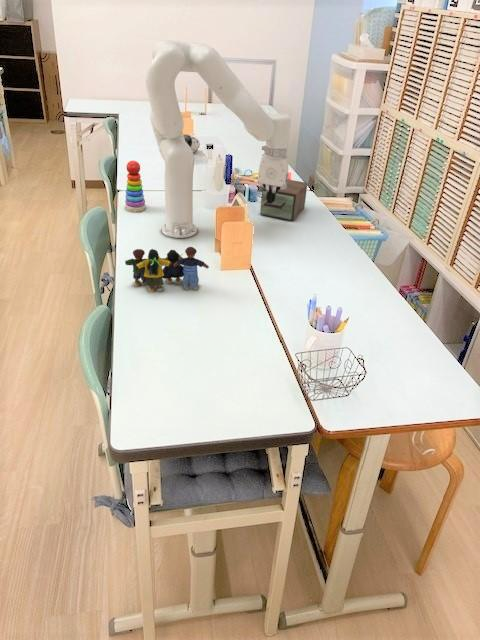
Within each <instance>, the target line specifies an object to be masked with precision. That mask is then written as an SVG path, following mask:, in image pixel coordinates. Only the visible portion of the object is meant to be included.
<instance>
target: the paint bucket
mask: <svg viewBox="0 0 480 640" xmlns="http://www.w3.org/2000/svg"><path fill="white" fill-rule="evenodd" d="M183 135H184V139H185V141H186V143H187V144H188V145H189V146H190V148H191V149H192V152H193V154H194V153H196V152H198V150H199V149H198V148H200V144H201V143H200V140H199V139H198V138H197V137H195V136H192V135H190V134H183Z"/></svg>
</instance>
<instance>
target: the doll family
mask: <svg viewBox="0 0 480 640" xmlns="http://www.w3.org/2000/svg"><path fill="white" fill-rule="evenodd" d="M184 253H185V254H186V256H187V257H183V255H184ZM184 253H181V254H179V252H177V251H176V250H175V249H170V250H169V251H168V252H167V253H166V257H160V254H159V253H158V250H157V249H153V248H151V249H150V250H148V255H147V258H144V256H145V254H146V252H145V250H144V249H141V248H136V249H135V250H133V251H132V255H133V257H134V258H129V259H127V260H125V261H124V263H125V265H126V266H132V274H133V275H132V278H133V279H134V284H133V286H134V287H140V285H141V286H147V289H148V291H149V292H155V290H156V291H157V292H162V291H163V290H164V288H163V286H164V284H165V282H166V283H167V284H170V285H171V284H174V283H175V284H176V285H180V284H181V283H183V285H182V288H183V289H184V290H190V287H191V288H192V290H197V289H198V288H199V287H200V285H199V281H200V278H199V275H198V274H199V273H198V272H199V271H198V267H200V268H202V267H203V268H204V269H206V270H207V269H210V266H209V265H208V264H207V263H205V262H204V261H203V260H201V259H199V258H196V257H195V256H196V254H197V249H196V248H195V247H193V246H188V247H187V248H185V250H184ZM173 278H174V279H175V280H173ZM140 279H141V281H140ZM164 279H165V282H164ZM173 281H174V283H173Z"/></svg>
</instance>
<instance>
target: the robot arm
mask: <svg viewBox="0 0 480 640" xmlns="http://www.w3.org/2000/svg"><path fill="white" fill-rule="evenodd" d="M151 56H152V60H151V62H150V63H149V66H148V69H147V73H146V76H145V77H146V78H145V86H146V92H147V96H148V100H149V103H150V108H151V110H150V111H151V112H150V122H151V123H150V124H151V126H152V130H153V133H154V137H155V140H156V143H157V147H158V151H159V153H160V155H161V157H162V159H163V161H164V201H165V202H164V203H165V207H164V208H165V224H163V225H162V227H161V232H162V234H163V235H165V236H166V237H169V238H175V239H185V238H190V237H193V236H195V235H196V234H197V232H198V227H197V226H196V225H195V224H194V213H193V212H194V209H193V208H194V187H193V186H194V168H195V156H194V153H193V152H192V149H191V148H190V146H189V145H188V144H187V143H186V141H185V139H184V135H185V134H184V132H183V131H184V124H185V123H184V118H183V115H182V112H181V109H180V105H179V101H178V98H177V97H178V96H177V93H176V87H175V84H176V79H177V77H178V75H179V74H180V73H181V72H184V73H185V72H186V73H197V74H198V75H199V76H200V78H201V79H202V80H203V81H204V83H205V84H206V85H207V87H209V88H210V89H211V91H212V92H213V93H214V94H215V96H216V97H217V98H218V99H219V100H220V102H221V103H222V104H223V105H224V106H225V107H226V109H228V110H229V111H230V112H232V113H233V114H234V115H235V116H236V118H238V119H239V120H240V121H241V122H242V123H243V127H244V129H245V131H246V132H247V133H248V134H249V135H251V136H252V137H253V138H254V139H256V140H257V141H260V142H265V145H262V146H261V150H262V151H264V153H263V154H262V155H261V158H260V162H259V166H258V167H259V168H258V172H257V184H258V185H260V186H262V188H263V187H264V188H265V189H266V192H267V196H266V200H267V203H270V204H272V203H273V202H274V201H275V197H276V192H277V191H278V190H280V189H281V190H282V189H286V188H287V184H286V183H287V180H289V156H287V153H288V147H289V146H288V145H289V138H290V137H289V136H290V129H291V117H290V116H289V115H288V114H286V113H278V112H276V113H266V110H264V108H263V107H262V106H261V105H260V103H259V102H258V101H257V100H256V98H255V97H254V96H253V95H252V94H251V93H250V91H249V90H248V89H247V87H246V86H245V85H244V84H243V82H242V81H241V80H240V79H239V78H238V76H237V75H236V74H235V72H234V71H233V69H232V68H230V66H229V65H228V63H227V62H226V61H225V59H224V58H223V57H222V55H220V53H219V52H218V51H217V50H216V49H215V48H213V47H212V46H210V45H208V44H205V43H198V42H197V43H196V42H188V41H187V42H186V41H178V40H170V39H164V40H163V39H162V40H160V41H158V42H157V43H155V45H154V47H153V49H152V53H151ZM271 185H272V186H273V190H272V189H271Z"/></svg>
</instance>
